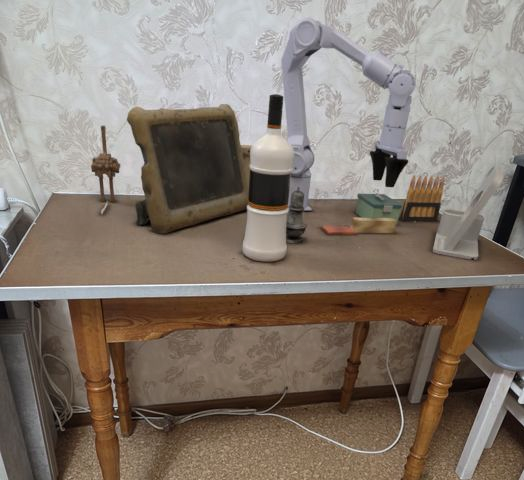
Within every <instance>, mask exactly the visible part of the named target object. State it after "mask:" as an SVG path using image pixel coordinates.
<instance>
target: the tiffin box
mask: <svg viewBox="0 0 524 480" xmlns="http://www.w3.org/2000/svg"><path fill="white" fill-rule="evenodd" d="M402 209H403V204H401V203H400V202H398V201H396V200H395V199H393V198H391V197H390V196H388V195H387V194H385V193H377V192H376V193H357V202H356V208H355V214H356V215H357V216H359V218H393V219H395V220H396V225H395V226H397V225H398V222H399V219H400V214H401V213H400V212H401V210H402Z"/></svg>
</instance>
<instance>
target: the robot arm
mask: <svg viewBox="0 0 524 480" xmlns="http://www.w3.org/2000/svg"><path fill="white" fill-rule="evenodd" d="M321 49H334V50H335V51H337V52H339V53H340V54H342V55H344V56H345V57H347V58H348V59H350V60H352V61H353V62H354V63H356V64H358V65H360V67H361V70H362V75H363V77H366V78H367V79H369V80H370V81H371V82H372V83H375V84H376V85H377V86H379V87H380V88H382V90H386V89H388V92H389V95H388V100H387V104H386V106H385V112H384V116H383V123H382V127H381V133H380V138H379V140H375V141H374V146H373V149H374V150H370V151H369V155H370V159H371V165H372V180H373V181H382V180H383V177H384V174H385V181H384V182H385V183H384V185H385V186H384V187H385V188H394V187H395V186H396V184H397V181H398V179H399V176H401V173H402V171H403V170H404V168H405V167H406V166H407V165H408V164H409V159H407V155H408V150H406V149H407V146H405V145H403V144H404V141H405V137H406V130H407V127H408V121H409V116H410V111H411V104H412V99H413V98H412V94H413V93H414V91H415V88H416V83H417V82H416V77H415V75H414V74H413V73H412V72H411V71H410V70H407V69H404V67H405V65H404V64H402V63H399V64H398V63H396V62H395V61H394V60H393V59H391V58H389V57H388V52H386V51H384V50H382V51H381V52H380V51H379V50H373V51H371V52H369V51H368V50H366V49H365V48H363V47H362V46H361V45H359V44H358V43H357V42H355V41H354V40H352V39H351V38H350V37H349V36H347V35H346V34H344V33H343V32H342V31H340V30H339V29H337V28H334V27H332V26H330V25H327V24H324V23H323V22H321V21H319V20H316V19H314V18H312V17H309V16H307V17H302V18H300V19H299V20H298V21H297V22H296V23H295V25H294V26H293V27H292V28H291V30H290V31H289V36H288V40H287V43H286V46H285V48H284V51H283V54H282V56H281V59H280V65H281V76H282V85H283V97H284V98H283V99H284V107H285V120H286V129H287V140H286V141H287V142H288V143H289V144H290V145H291V146H292V148H293V150H294V160H293V165H292V168H293V170H292V172H291V180H290V190H289V200H288V207H289V206H290V203H291V194H292V192H294V191H296V190H297V188H298V186H299V187H300V189H299V190H300V191H301V192H303V193H304V202H303V207H304V210H303V212H307V211H308V212H311V211H313V209H312V207H310V206H309V205H308V204H309V197H310V188H311V179H312V173H311V168H312V167H313V165H314V163H315V154H314V151H313V150H312V148H311V142H310V138H309V136H308V128H307V127H308V126H307V114H306V100H305V90H304V89H305V88H304V75H303V67H304V65H305V64H306V63H307V61H308V60H309V59H310V57H311V56H313V55H314V54H316V53H317V52H318V51H320V50H321ZM403 69H404V70H403ZM288 210H289V208H288Z"/></svg>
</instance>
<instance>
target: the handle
mask: <svg viewBox="0 0 524 480" xmlns="http://www.w3.org/2000/svg"><path fill="white" fill-rule="evenodd" d="M240 145H241V148H242V152H243V160H244V163H245V165H244V169H245V173H246V179H247V185H248V190H249V179H250V168H249V165H250V149H251V147H252V145H250V144H240Z"/></svg>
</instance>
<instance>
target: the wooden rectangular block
mask: <svg viewBox="0 0 524 480" xmlns="http://www.w3.org/2000/svg"><path fill="white" fill-rule="evenodd" d="M396 226H397V225H396V220H395V219H393V218H362V217H351V221H350V226H348V225H322V226H321V229H322V230H323V231H324V232H325V233H326V234H327V235H336V236H337V235H338V236H339V235H341V236H342V235H346V236H347V235H349V236H350V235H351V236H352V235H353V236H354V235H356V234H394V233H395V231H396V230H395V229H396Z"/></svg>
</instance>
